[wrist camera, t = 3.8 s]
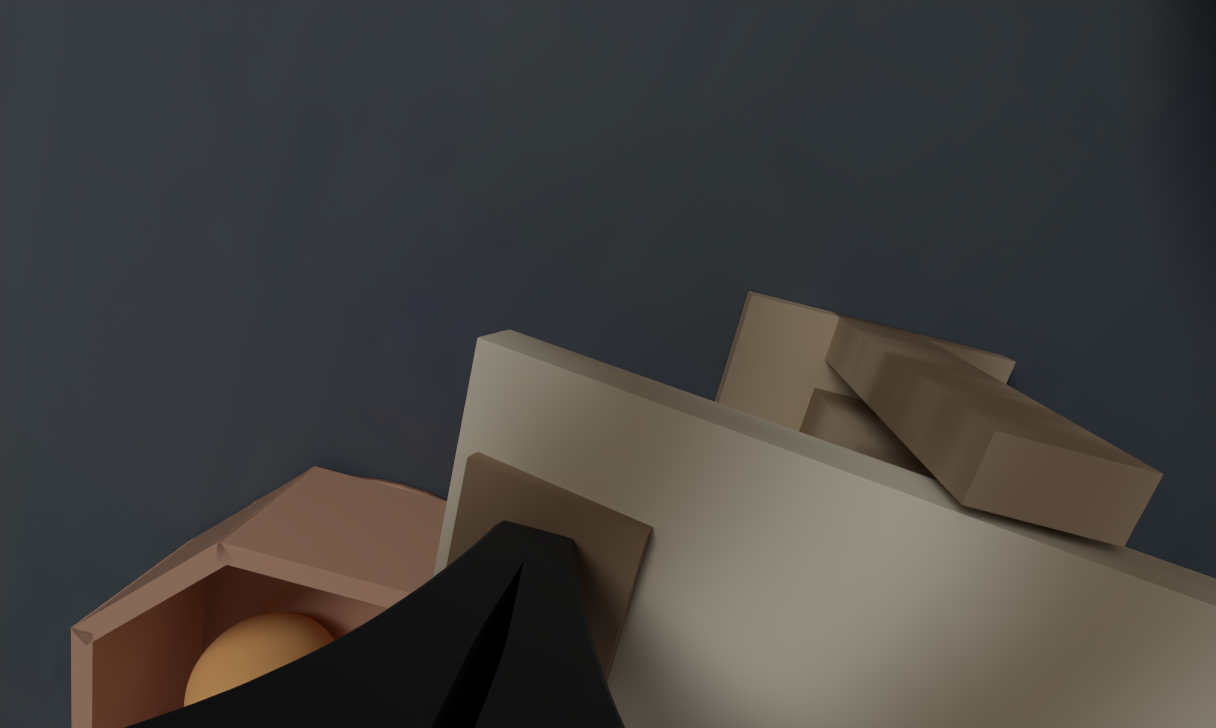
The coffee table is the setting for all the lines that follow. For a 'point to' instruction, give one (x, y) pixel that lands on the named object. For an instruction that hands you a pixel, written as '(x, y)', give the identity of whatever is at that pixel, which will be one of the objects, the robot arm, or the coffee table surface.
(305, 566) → the octagonal bowl
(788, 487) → the lever
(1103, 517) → the lever stand
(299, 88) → the coffee table surface
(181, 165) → the coffee table surface
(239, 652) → the ball
